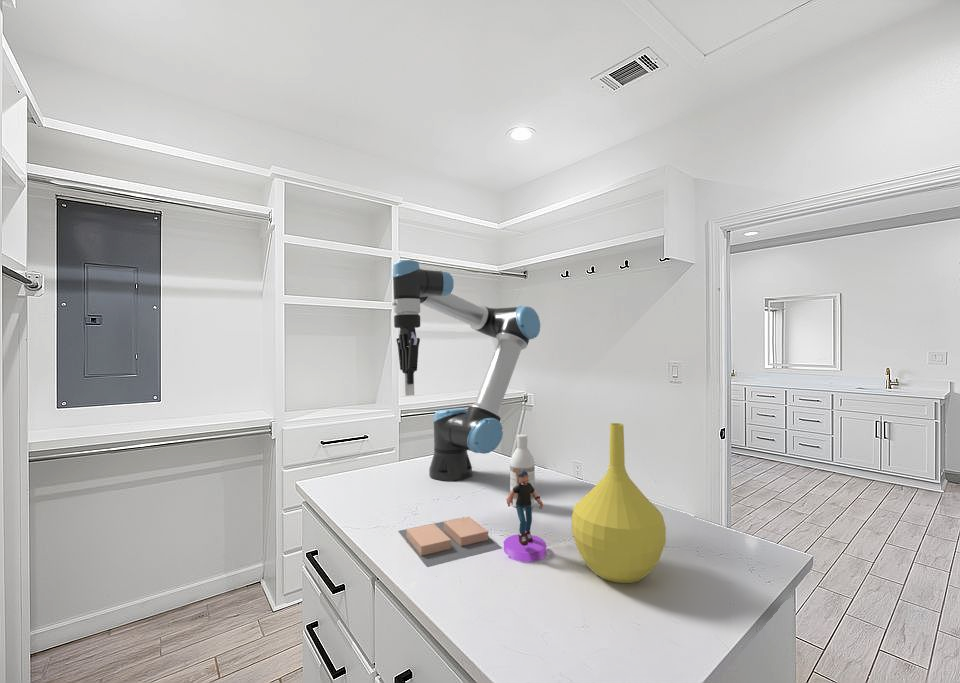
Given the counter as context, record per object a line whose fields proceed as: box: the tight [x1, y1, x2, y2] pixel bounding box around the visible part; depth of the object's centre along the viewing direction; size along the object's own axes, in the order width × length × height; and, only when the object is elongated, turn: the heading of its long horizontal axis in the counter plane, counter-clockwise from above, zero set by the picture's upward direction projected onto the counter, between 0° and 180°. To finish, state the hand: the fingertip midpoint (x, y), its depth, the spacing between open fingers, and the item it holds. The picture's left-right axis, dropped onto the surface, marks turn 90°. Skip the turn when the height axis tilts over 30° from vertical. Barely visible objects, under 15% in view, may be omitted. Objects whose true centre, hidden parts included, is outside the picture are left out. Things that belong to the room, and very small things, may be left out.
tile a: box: [443, 516, 489, 546], centre depth 107 cm, size 7×2×10 cm
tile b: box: [405, 523, 451, 556], centre depth 103 cm, size 7×2×10 cm
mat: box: [397, 516, 503, 568], centre depth 105 cm, size 18×20×1 cm
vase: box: [571, 422, 667, 584], centre depth 91 cm, size 18×18×30 cm
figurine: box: [503, 471, 547, 563], centre depth 100 cm, size 9×9×18 cm
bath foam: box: [509, 433, 536, 510], centre depth 128 cm, size 7×7×20 cm
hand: (409, 395), depth 131 cm, fingers closed
